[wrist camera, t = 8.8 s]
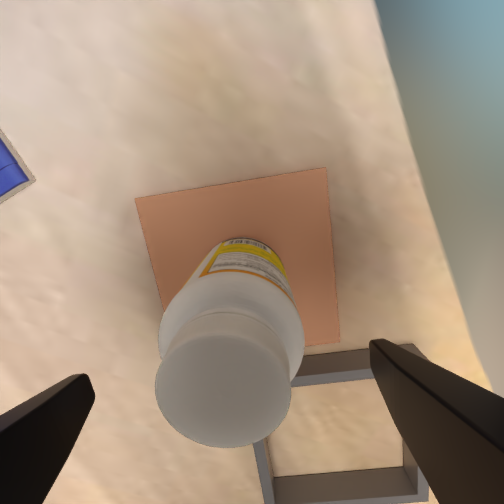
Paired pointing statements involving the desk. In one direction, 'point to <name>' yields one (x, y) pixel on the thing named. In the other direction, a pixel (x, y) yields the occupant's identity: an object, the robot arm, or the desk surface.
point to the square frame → (342, 483)
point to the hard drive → (12, 170)
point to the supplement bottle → (230, 347)
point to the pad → (252, 226)
